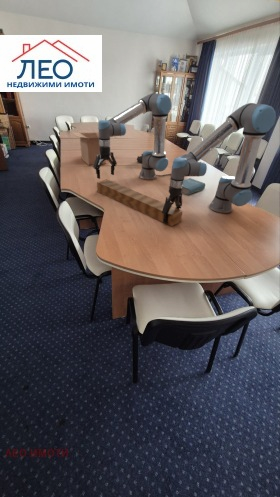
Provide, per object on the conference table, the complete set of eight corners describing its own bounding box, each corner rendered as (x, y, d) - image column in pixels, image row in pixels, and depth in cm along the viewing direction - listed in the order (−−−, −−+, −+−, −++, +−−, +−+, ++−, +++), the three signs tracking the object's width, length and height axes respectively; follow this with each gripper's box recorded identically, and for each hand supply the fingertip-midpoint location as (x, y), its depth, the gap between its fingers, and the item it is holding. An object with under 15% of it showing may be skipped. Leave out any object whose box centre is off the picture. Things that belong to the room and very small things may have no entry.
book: (188, 183, 198) (190, 178, 195) (204, 189, 190) (205, 183, 187) (173, 189, 185) (174, 183, 182) (188, 195, 176) (190, 189, 173)
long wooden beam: (97, 191, 172) (96, 182, 168) (107, 188, 179) (106, 179, 174) (171, 226, 136) (173, 215, 131) (180, 221, 142) (182, 210, 137)
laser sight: (156, 165, 238) (157, 155, 232) (135, 163, 241) (136, 153, 235) (157, 163, 245) (158, 153, 240) (137, 160, 248) (138, 151, 242)
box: (116, 165, 229) (116, 136, 213) (83, 168, 214) (80, 137, 198) (102, 154, 259) (101, 128, 243) (71, 156, 244) (68, 129, 228)
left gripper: (93, 149, 144) (95, 181, 156) (121, 145, 159) (121, 174, 172) (86, 147, 148) (89, 178, 160) (114, 143, 163) (114, 171, 176)
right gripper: (169, 193, 118) (164, 228, 131) (192, 183, 133) (185, 216, 146) (158, 189, 122) (154, 223, 135) (181, 180, 137) (175, 212, 150)
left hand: (105, 176), depth 166 cm, fingers open, 13 cm apart
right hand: (170, 219), depth 141 cm, fingers open, 11 cm apart
